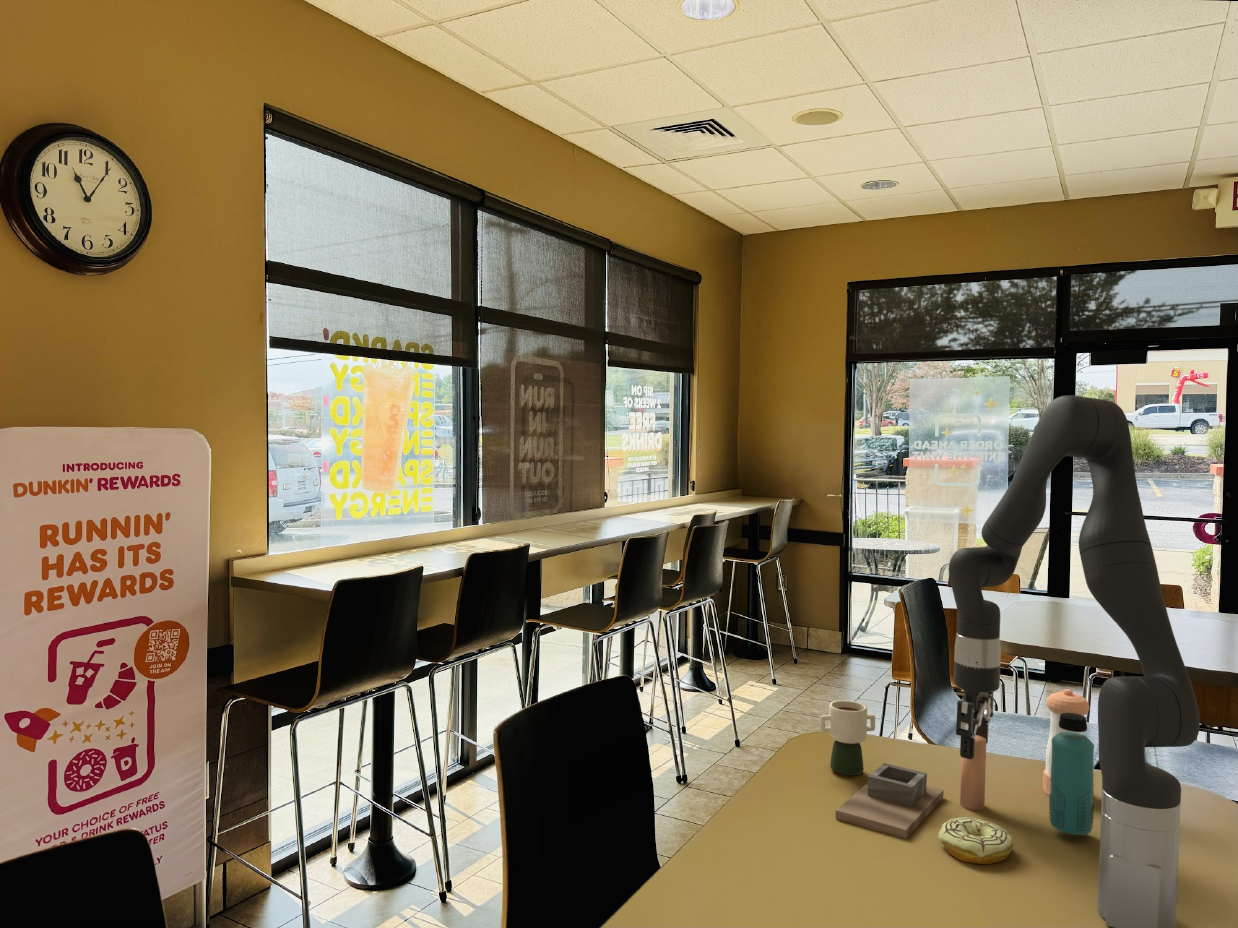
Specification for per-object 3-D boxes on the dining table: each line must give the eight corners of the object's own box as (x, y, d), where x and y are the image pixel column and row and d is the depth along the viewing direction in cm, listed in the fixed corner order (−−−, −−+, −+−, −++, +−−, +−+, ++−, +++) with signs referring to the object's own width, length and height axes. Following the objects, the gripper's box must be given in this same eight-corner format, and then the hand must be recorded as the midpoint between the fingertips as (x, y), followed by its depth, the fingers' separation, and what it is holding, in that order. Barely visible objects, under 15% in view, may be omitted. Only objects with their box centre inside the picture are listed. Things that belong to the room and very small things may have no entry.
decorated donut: (926, 848, 142) (926, 825, 141) (962, 830, 148) (963, 807, 148) (988, 874, 134) (988, 850, 133) (1023, 853, 140) (1024, 830, 140)
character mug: (867, 764, 176) (868, 699, 176) (881, 778, 169) (882, 710, 168) (813, 765, 175) (814, 700, 175) (824, 779, 168) (826, 712, 168)
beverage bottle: (1098, 846, 142) (1102, 722, 142) (1053, 841, 144) (1057, 719, 143) (1085, 828, 149) (1089, 710, 148) (1042, 824, 150) (1046, 707, 149)
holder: (905, 838, 144) (906, 808, 144) (835, 818, 152) (836, 789, 151) (943, 797, 160) (944, 770, 160) (878, 781, 168) (878, 755, 167)
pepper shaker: (1093, 793, 163) (1097, 690, 162) (1077, 804, 158) (1081, 698, 157) (1052, 781, 168) (1055, 681, 167) (1036, 792, 163) (1039, 689, 163)
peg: (980, 812, 155) (982, 744, 154) (957, 806, 157) (959, 739, 157) (987, 804, 158) (989, 737, 157) (963, 798, 160) (965, 732, 160)
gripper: (988, 673, 148) (985, 768, 149) (1010, 655, 160) (1007, 743, 161) (942, 665, 153) (939, 757, 154) (966, 648, 164) (964, 734, 165)
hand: (974, 750), depth 157 cm, fingers open, 8 cm apart
